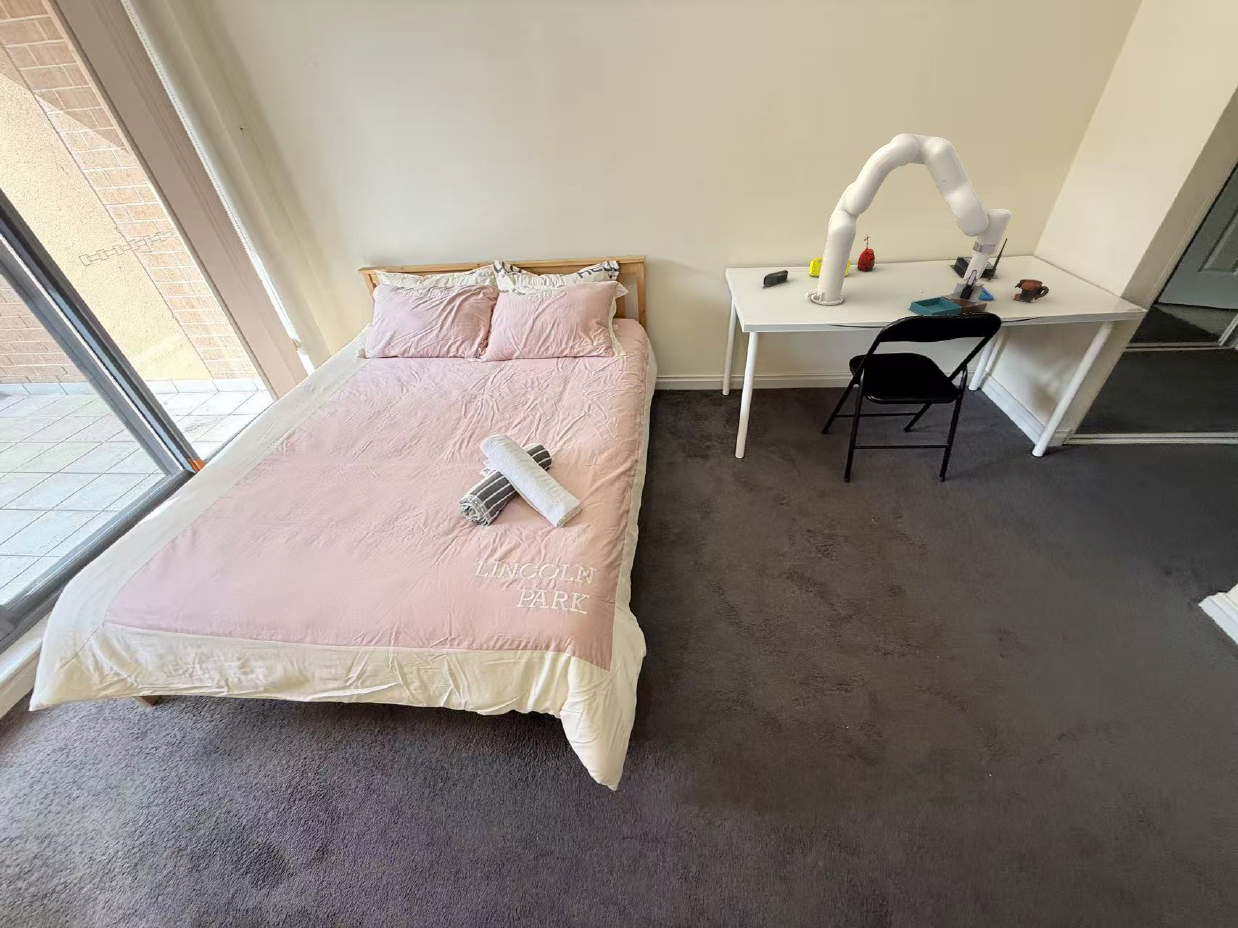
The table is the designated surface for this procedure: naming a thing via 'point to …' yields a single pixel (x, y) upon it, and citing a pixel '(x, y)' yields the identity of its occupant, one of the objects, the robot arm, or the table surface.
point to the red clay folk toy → (866, 259)
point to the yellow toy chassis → (816, 267)
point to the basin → (935, 307)
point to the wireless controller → (988, 272)
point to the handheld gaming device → (985, 295)
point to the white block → (974, 295)
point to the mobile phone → (775, 278)
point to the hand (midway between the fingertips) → (965, 296)
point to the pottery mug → (1030, 290)
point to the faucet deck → (967, 304)
